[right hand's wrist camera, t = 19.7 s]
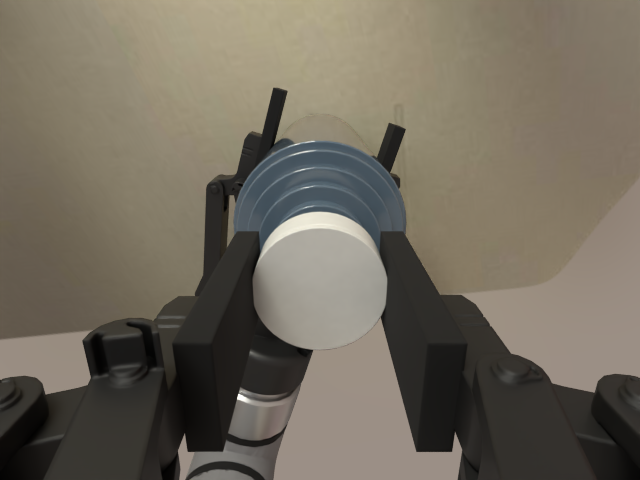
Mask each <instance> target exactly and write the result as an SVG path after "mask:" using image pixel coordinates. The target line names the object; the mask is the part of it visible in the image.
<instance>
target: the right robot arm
mask: <svg viewBox="0 0 640 480" xmlns="http://www.w3.org/2000/svg"><path fill="white" fill-rule="evenodd" d="M379 254H380V257H381V260H382V262H383V265H384V268H385V271H386V274H387V292H386V306H385V309H384V311H383V313H382V315H381V320H382V324H383V327H384V331H385V335H386V338H387V342H388V346H389V350H390V354H391V358H392V361H393V365H394V369H395V372H396V376H397V380H398V384H399V387H400V391H401V395H402V399H403V403H404V406H405V410H406V414H407V418H408V422H409V425H410V429H411V433H412V437H413V440H414V444H415V448H416V451H417V452H452V448H453V441H454V435H455V432H456V435H457V437H458V440H459V442H460V445H461V447H462V456H461V462H460V468H459V475H458V480H640V378H638V377H636V376H631V375H621V374H612V375H606V376H603V377H602V378H601V379H600V380H599V381H598V383H597V387H596V390H595V393H593V392H588V391H583V390H578V389H573V388H568V387H564V386H560V385H556V384H552V383H551V381H550V378H549V377H548V375H547V374H546V373H545V372H544V370H543V369H542V368H541V367H539V366H538V365H536V364H535V363H534V362H532V361H530V360H528V359H525V358H523V357H521V356H518V355H514V354H511V353H510V352H509V350H508V349H507V347H506V346H505V345H504V343H503V342H502V340H501V339H500V338H499V336H498V335H497V334H496V332H495V331H494V329H493V328H492V327H491V326H490V324H489V322H488V321H487V320H486V318H485V317H483V314H482V313H481V311H480V310H479V309H478V307H477V306H476V304H474V303H473V302H471V301H470V300H468V299H466V298H465V297H463V296H462V295H440V294H439V293H438V291H437V289H436V288H435V286H434V284H433V282H432V281H431V279H430V277H429V275H428V274H427V272H426V270H425V269H424V267H423V265H422V263H421V262H420V260H419V258H418V257H417V255H416V253H415V251H414V250H413V248H412V246H411V244H410V243H409V241H408V239H407V238H406V236H405V234H404V232H403V231H381V233H380V252H379ZM259 256H260V238H259V231H237V232H236V234H235V235H234V237H233V239H232V241H231V242H230V244H229V246H228V247H227V249H226V251H225V253H224V254H223V256H222V258H221V259H220V261H219V263H218V265H217V266H216V268H215V270H214V271H213V273H212V275H211V277H210V278H209V280H208V282H207V284H206V285H205V287H204V289H203V290H202V292H201V294H200V296H178V297H177V298H175V299H174V300H172V301H171V302H169V303H168V304H166V305H165V306H164V307H163V308H162V310H161V311H160V313H159V314H158V315H157V319H155V320H154V321H152V320H148V319H144V318H127V319H122V320H117V321H113V322H110V323H108V324H105V325H102V326H100V327H98V328H97V329H95V330H93V331H92V332H90V333H89V334H88V335H87V336H86V337H85V338H84V339H83V345H84V349H85V354H86V358H87V363H88V367H89V371H90V375H91V379H90V381H89V384H88V385H87V386H83V387H80V388H76V389H71V390H66V391H61V392H56V393H51V394H47V395H45V391H44V388H43V384H42V383H41V382H40V381H39V380H38V379H37V378H34V377H28V376H18V377H10V378H5V379H2V380H0V480H179V476H180V463H179V456H178V449H179V446H180V444H181V441H182V439H183V436H184V434H185V436H186V443H187V450H188V452H223V451H224V447H225V443H226V439H227V436H228V432H229V428H230V424H231V420H232V417H233V413H234V409H235V405H236V402H237V398H238V394H239V390H240V387H241V383H242V379H243V375H244V372H245V368H246V364H247V360H248V357H249V353H250V349H251V345H252V341H253V338H254V334H255V330H256V326H257V323H258V319H259V316H258V314H257V312H256V309H255V307H254V297H253V280H252V279H253V274H254V270H255V267H256V265H257V262H258V259H259Z"/></svg>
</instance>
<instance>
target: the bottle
mask: <svg viewBox="0 0 640 480" xmlns="http://www.w3.org/2000/svg"><path fill="white" fill-rule="evenodd" d="M310 212H330V213H335V214H339V215H342V216H345V217H347V218H349V219H351V220H353V221H354V222H356V223H357V224H359V225H360V226H361V227H362V228H364V229H365V230H366V231H367V233H368V234H369V235H370V236H371V238H372V239H373V241H374V242H375V244H376V246H377V249H378V251H379V252H380V233H381V231H403V232H404V234H406V211H405V206H404V202H403V199H402V196H401V193H400V191H399V189H398V187H397V185H396V183H395V181H394V180H393V178H392V177H391V175H390V174H389V173H388V171H387V170H386V169H385V168H384V166H383V165H382V164H381V163H380V161H379V160H378V159H377V158H376V157H375V155H374V154H373V153H372V152H371V150H370V149H369V148H368V147H367V146H366V144H365V143H364V142H363V141H362V139H361V138H360V137H359V136H358V135H357V133H356V132H355V131H354V130H353V129H352V128H351V127H350V126H349V125H348V124H347V123H346V122H344V121H343V120H341V119H339V118H337V117H335V116H331V115H326V114H314V115H309V116H305V117H303V118H301V119H299V120H297V121H296V122H294V123H293V124H292V125H291V126H290V127H289V128H288V129H287V130H286V131H285V132H284V133H283V135H282V136H281V137H280V138H279V139H278V141H277V142H276V143H275V144H274V146H273V147H272V148H271V149H270V150H269V152H268V153H267V154H266V155H265V156H264V158H263V159H262V160H261V161H260V163H259V164H258V165H257V166H256V167H255V169H254V170H253V171H252V172H251V174H250V175H249V177H248V178H247V179H246V181H245V183H244V185H243V186H242V188H241V190H240V193H239V196H238V198H237V201H236V206H235V211H234V234H236V232H237V231H259V238H260V254H261V251H262V248H263V246H264V244H265V242H266V240H267V239H268V237H269V236H270V235H271V234H272V232H273V231H274V230H275V229H276V228H277V227H279V226H280V225H281V224H282V223H284V222H285V221H287V220H289V219H291V218H293V217H295V216H298V215H301V214H305V213H310Z"/></svg>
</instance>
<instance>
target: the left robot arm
mask: <svg viewBox="0 0 640 480" xmlns="http://www.w3.org/2000/svg"><path fill="white" fill-rule="evenodd" d="M286 95H287V91H286V90H283V89H280V88H273V92H272V96H271V100H270V104H269V108H268V112H267V116H266V121H265V125H264V129H263V133H262V134H260V133H256V132H253V131H252V132H250V133H249V134H248V135H247V137H246V138H245V140H244V145H243V149H242V154H241V158H240V162H239V166H238V171H237V174H235V175H227V176H225V175H218V176H217V177H216V178H214V179H213V180H212V181H211V182H210V183H209V184H208V185H207V188H206V216H205V244H204V273H203V277H202V279H201V281H200V283H199V286H198V288H197V290H196V292H195V296H200V294H201V292H202V290H203V289H204V287H205V285H206V284H207V282H208V280H209V278H210V277H211V275H212V273H213V271H214V270H215V268H216V266H217V265H218V263H219V261H220V259H221V258H222V256H223V254H224V253H225V251H226V249H227V232H228V213H229V195H234V197H235V202H236V201H237V198H238V196H239V193H240V190H241V188H242V186H243V185H244V183H245V181H246V179H247V178H248V177H249V175H250V174H251V172H252V171H253V170H254V169H255V167H256V166H257V165H258V164H259V163H260V161H261V160H262V159H263V158H264V156H265V155H266V154H267V153H268V152H269V150H270V149H271V148H272V147H273V146H274V143H275V139H276V135H277V131H278V127H279V123H280V119H281V115H282V111H283V107H284V103H285V99H286ZM405 130H406V129H404V128H402V127H400V126H397V125H394V124H391V123H389V124H388V127H387V130H386V133H385V136H384V139H383V142H382V145H381V148H380V151H379V154H378V156H377V159H378V160H379V161H380V163H381V164H382V165H383V166H384V168H385V169H386V170H387V171H388V173H389V174H390V175H391V177H392V178H393V180H394V181H395V183H396V185H397V187H398V189H399V187H400V178H399V177H398V176H397V175H395V174H392V173H390V172H391V169H392V166H393V163H394V161H395V158H396V155H397V152H398V150H399V147H400V144H401V141H402V138H403V136H404V133H405ZM312 352H313V350H310V349H305V348H300V347H297V346H294V345H292V344H289V343H287V342H285V341H283V340H282V339H280V338H278V337H277V336H276V335H274V334H273V333H272V332H271V331H270V330H269V329H268V328H267V327H266V326H265V325H264V323H263V322H262V321H261V319H260V317H259V319H258V323H257V326H256V330H255V334H254V338H253V341H252V345H251V349H250V353H249V357H248V360H247V364H246V368H245V372H244V375H243V379H242V383H241V387H240V390H239V394H238V398H237V402H236V405H235V409H234V413H233V417H232V420H231V424H230V428H229V432H228V436H227V439H226V443H225V447H224V451H223V452H195V453H194V456H193V459H192V462H191V465H190V468H189V471H188V474H187V477H186V479H185V480H273V478H274V469H275V463H276V458H277V454H278V451H279V447H280V444H281V441H282V438H283V434H284V431H285V429H286V426H287V423H288V421H289V418H290V416H291V413H292V410H293V407H294V405H295V402H296V399H297V396H298V393H299V390H300V386H301V382H302V380H303V378H304V375H305V372H306V369H307V366H308V364H309V361H310V358H311V355H312Z"/></svg>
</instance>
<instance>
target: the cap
mask: <svg viewBox="0 0 640 480" xmlns="http://www.w3.org/2000/svg"><path fill="white" fill-rule="evenodd" d="M252 280H253V297H254V307H255V309H256V312H257V314H258V316H259V317H260V319H261V321H262V322H263V323H264V325H265V326H266V327H267V328H268V329H269V330H270V331H271V332H272V333H273V334H274V335H276V336H277V337H278V338H280V339H282V340H283V341H285V342H287V343H289V344H292V345H294V346H297V347H300V348H305V349H310V350H329V349H335V348H339V347H343V346H346V345H348V344H351V343H353V342H355V341H356V340H358V339H360V338H361V337H363V336H364V335H365V334H367V333H368V332H369V331H370V330H371V329H372V328H373V327H374V326H375V324H376V323H377V322H378V320H379V319H380V317H381V315H382V313H383V311H384V309H385V306H386V292H387V274H386V271H385V268H384V265H383V262H382V260H381V257H380V254H379V251H378V249H377V246H376V244H375V242H374V241H373V239H372V238H371V236H370V235H369V234H368V233H367V231H366V230H365V229H364V228H362V227H361V226H360V225H359V224H357V223H356V222H354V221H353V220H351V219H349V218H347V217H345V216H342V215H339V214H335V213H330V212H310V213H305V214H301V215H298V216H295V217H293V218H291V219H289V220H287V221H285V222H284V223H282V224H281V225H280V226H279V227H277V228H276V229H275V230H274V231H273V232H272V234H271V235H270V236H269V237H268V239H267V240H266V242H265V244H264V246H263V248H262V251H261V254H260V256H259V259H258V262H257V265H256V267H255V270H254V274H253V279H252Z"/></svg>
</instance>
